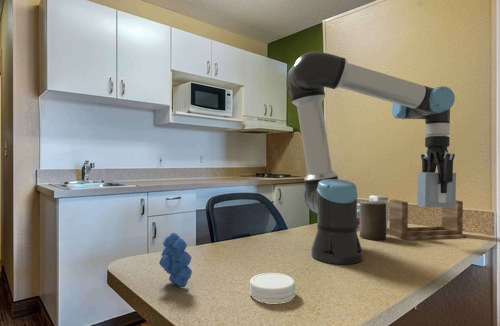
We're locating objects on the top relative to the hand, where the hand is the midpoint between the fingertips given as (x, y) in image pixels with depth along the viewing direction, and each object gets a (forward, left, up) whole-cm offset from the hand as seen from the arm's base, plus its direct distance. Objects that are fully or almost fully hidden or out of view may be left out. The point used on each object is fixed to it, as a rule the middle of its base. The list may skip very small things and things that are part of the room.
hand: (436, 201), depth 113 cm
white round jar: (-68, -33, -16) cm, 77 cm away
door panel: (0, 0, -2) cm, 2 cm away
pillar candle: (-17, +13, -16) cm, 26 cm away
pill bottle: (-15, +27, -16) cm, 35 cm away
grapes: (-90, -25, -16) cm, 94 cm away
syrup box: (-6, +27, -16) cm, 32 cm away
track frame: (+6, +13, -15) cm, 21 cm away
